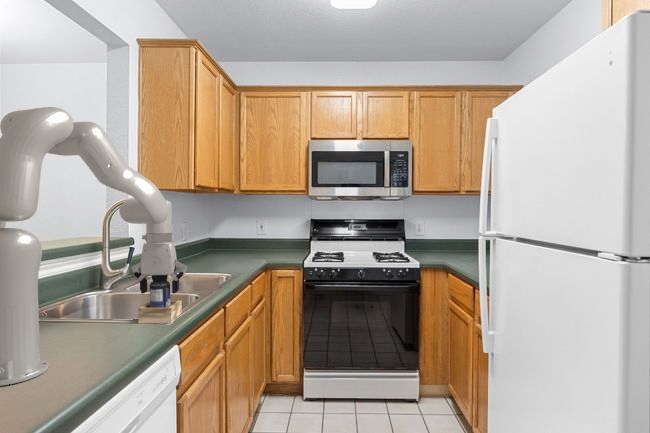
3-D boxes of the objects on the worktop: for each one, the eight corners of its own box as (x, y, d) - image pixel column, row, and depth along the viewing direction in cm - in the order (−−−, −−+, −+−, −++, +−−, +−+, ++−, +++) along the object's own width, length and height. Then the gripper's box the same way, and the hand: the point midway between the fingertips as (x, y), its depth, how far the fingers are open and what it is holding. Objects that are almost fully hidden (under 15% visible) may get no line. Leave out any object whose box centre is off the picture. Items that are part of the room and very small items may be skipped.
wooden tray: (171, 322, 126) (171, 308, 126) (138, 323, 126) (138, 308, 126) (181, 314, 136) (181, 300, 136) (151, 314, 136) (151, 300, 136)
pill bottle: (164, 305, 135) (163, 272, 135) (174, 308, 131) (173, 274, 131) (146, 309, 130) (145, 275, 130) (156, 312, 126) (155, 277, 126)
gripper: (126, 239, 126) (126, 295, 126) (183, 239, 126) (183, 295, 127) (136, 237, 133) (137, 290, 134) (190, 238, 134) (190, 290, 134)
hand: (159, 292), depth 130 cm, fingers open, 9 cm apart
